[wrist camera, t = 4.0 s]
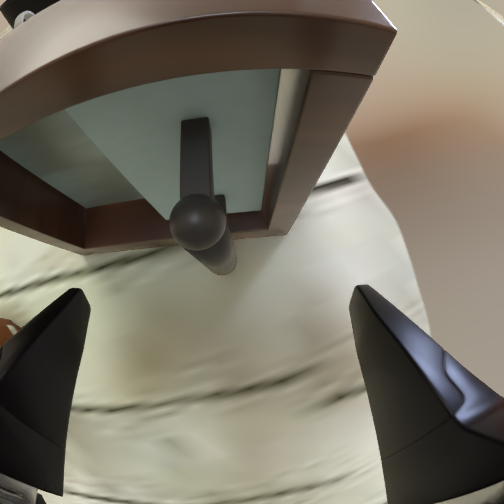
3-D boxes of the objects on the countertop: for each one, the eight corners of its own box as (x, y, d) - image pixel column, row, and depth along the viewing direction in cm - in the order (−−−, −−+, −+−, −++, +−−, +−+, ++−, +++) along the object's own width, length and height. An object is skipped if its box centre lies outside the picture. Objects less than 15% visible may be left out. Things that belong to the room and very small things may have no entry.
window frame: (278, 174, 19) (328, -42, 4) (287, 234, 18) (399, 31, 3) (85, 200, 18) (-56, 90, 3) (82, 255, 18) (-95, 185, 2)
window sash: (260, 199, 16) (279, 41, 5) (268, 275, 15) (319, 211, 4) (165, 209, 16) (63, 84, 5) (168, 283, 15) (24, 246, 4)
